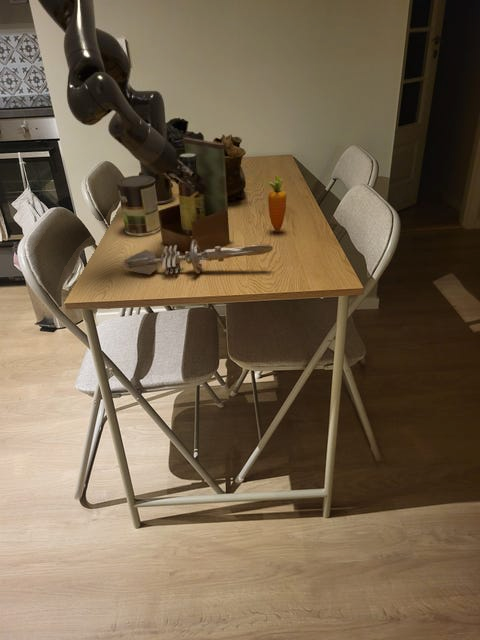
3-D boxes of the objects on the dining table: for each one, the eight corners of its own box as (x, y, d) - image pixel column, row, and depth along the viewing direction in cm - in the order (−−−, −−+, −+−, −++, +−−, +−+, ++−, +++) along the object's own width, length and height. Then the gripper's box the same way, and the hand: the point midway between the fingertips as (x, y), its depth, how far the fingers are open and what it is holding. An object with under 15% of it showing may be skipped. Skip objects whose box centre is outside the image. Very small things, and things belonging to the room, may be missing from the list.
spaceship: (271, 248, 101) (270, 222, 106) (115, 266, 106) (120, 240, 110) (275, 272, 108) (273, 247, 112) (128, 288, 112) (132, 263, 116)
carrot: (281, 236, 127) (281, 180, 119) (265, 233, 129) (264, 178, 122) (289, 230, 131) (290, 175, 123) (273, 227, 133) (273, 173, 125)
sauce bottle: (202, 238, 121) (196, 158, 111) (179, 237, 122) (170, 158, 112) (209, 228, 127) (203, 152, 116) (186, 227, 128) (179, 151, 117)
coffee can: (129, 238, 130) (120, 188, 123) (122, 226, 139) (113, 178, 131) (165, 231, 134) (158, 182, 126) (156, 220, 142) (149, 173, 134)
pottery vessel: (214, 186, 169) (209, 127, 159) (244, 185, 169) (242, 126, 159) (214, 209, 148) (209, 143, 137) (248, 207, 148) (246, 141, 138)
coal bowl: (197, 160, 203) (193, 113, 194) (214, 170, 188) (210, 119, 178) (152, 166, 197) (145, 118, 187) (165, 178, 181) (159, 126, 171)
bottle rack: (162, 243, 127) (149, 146, 114) (195, 230, 134) (187, 137, 121) (196, 257, 118) (186, 153, 105) (230, 242, 125) (224, 144, 112)
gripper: (125, 159, 110) (170, 196, 124) (162, 168, 102) (207, 207, 115) (140, 131, 111) (184, 171, 124) (179, 138, 102) (222, 180, 115)
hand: (195, 188), depth 119 cm, fingers closed on sauce bottle, 6 cm apart
